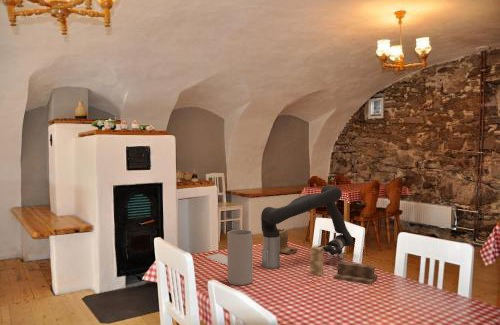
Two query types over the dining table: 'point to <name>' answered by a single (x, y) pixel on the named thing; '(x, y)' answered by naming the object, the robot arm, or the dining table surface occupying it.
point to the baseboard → (219, 258)
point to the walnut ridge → (355, 273)
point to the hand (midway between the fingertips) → (324, 252)
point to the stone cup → (285, 243)
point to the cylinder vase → (240, 257)
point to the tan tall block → (316, 260)
